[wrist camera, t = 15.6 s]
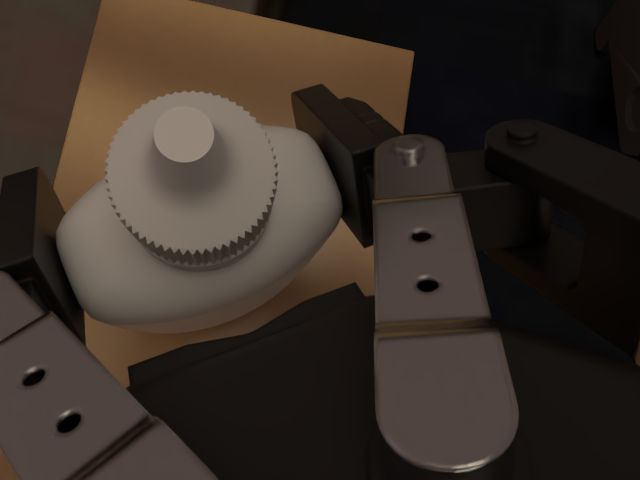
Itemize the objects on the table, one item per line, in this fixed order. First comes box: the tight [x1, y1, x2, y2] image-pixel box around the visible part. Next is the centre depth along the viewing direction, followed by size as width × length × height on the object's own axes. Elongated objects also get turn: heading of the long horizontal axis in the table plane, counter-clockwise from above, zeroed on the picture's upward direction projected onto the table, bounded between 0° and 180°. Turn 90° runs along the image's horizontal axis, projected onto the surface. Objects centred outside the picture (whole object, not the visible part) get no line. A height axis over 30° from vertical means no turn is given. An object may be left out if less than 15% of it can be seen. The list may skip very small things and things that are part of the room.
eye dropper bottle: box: [56, 91, 343, 334], centre depth 13 cm, size 4×6×12 cm
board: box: [0, 0, 414, 480], centre depth 21 cm, size 20×12×1 cm, turn 171°
